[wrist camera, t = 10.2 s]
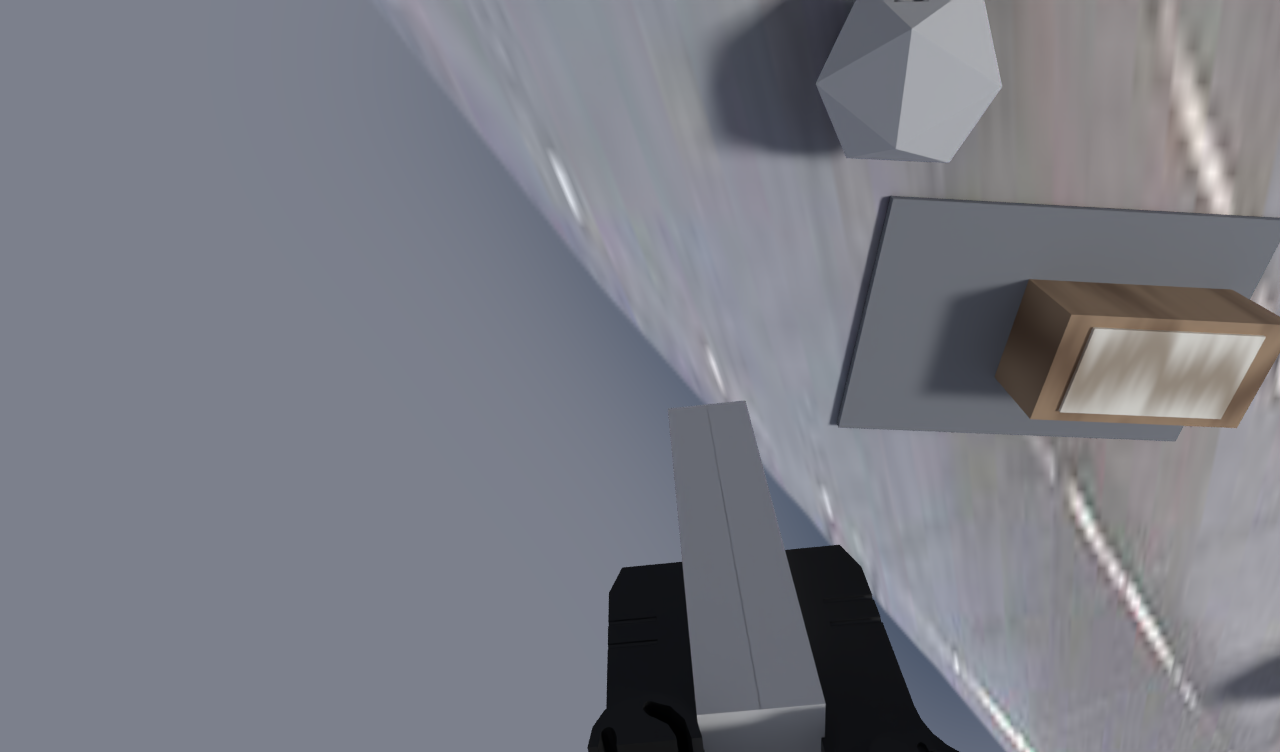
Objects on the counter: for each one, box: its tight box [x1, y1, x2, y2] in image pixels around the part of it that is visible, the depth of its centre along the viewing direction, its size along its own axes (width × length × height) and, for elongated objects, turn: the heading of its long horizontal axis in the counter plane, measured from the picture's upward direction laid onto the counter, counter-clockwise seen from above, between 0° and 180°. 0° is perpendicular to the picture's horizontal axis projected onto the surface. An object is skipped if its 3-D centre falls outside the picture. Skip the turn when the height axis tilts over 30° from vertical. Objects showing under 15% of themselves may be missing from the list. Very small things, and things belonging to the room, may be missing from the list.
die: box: [816, 0, 1002, 163], centre depth 36 cm, size 8×9×10 cm
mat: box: [837, 196, 1280, 441], centre depth 48 cm, size 16×24×1 cm, turn 86°
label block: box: [995, 279, 1280, 428], centre depth 45 cm, size 7×5×13 cm
